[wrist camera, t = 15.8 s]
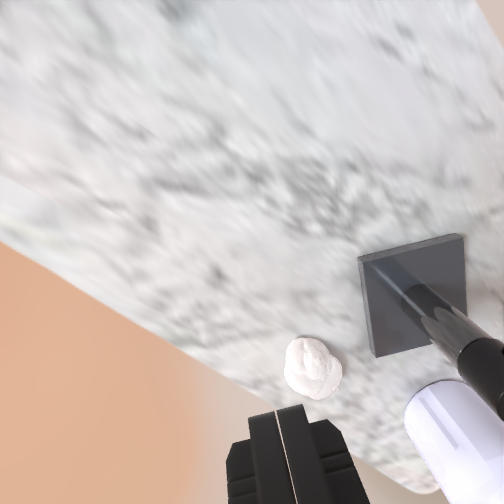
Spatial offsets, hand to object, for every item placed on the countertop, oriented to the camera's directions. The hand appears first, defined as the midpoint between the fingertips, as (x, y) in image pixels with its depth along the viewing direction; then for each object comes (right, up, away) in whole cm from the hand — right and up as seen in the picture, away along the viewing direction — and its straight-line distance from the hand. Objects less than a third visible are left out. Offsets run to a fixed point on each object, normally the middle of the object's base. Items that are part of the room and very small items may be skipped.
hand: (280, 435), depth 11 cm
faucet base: (+16, +1, +32) cm, 36 cm away
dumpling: (+5, -6, +34) cm, 35 cm away
